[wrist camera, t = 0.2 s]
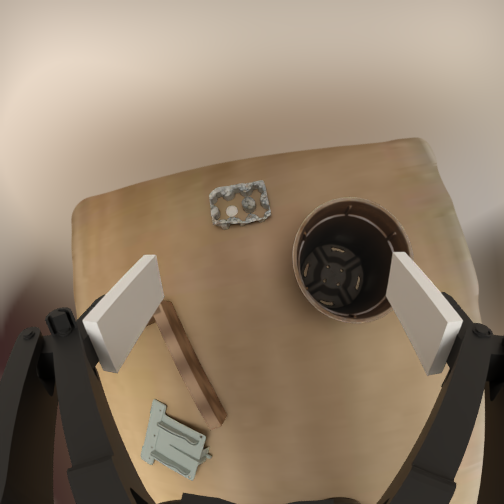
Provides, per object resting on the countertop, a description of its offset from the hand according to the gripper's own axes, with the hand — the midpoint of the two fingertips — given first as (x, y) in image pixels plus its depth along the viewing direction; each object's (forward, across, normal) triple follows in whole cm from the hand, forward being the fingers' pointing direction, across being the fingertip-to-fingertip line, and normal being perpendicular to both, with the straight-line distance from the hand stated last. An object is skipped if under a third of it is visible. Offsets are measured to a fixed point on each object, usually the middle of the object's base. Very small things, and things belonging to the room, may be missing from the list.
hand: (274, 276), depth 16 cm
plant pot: (+32, -10, +17) cm, 38 cm away
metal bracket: (+14, +19, +43) cm, 49 cm away
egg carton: (+40, +7, +6) cm, 41 cm away
